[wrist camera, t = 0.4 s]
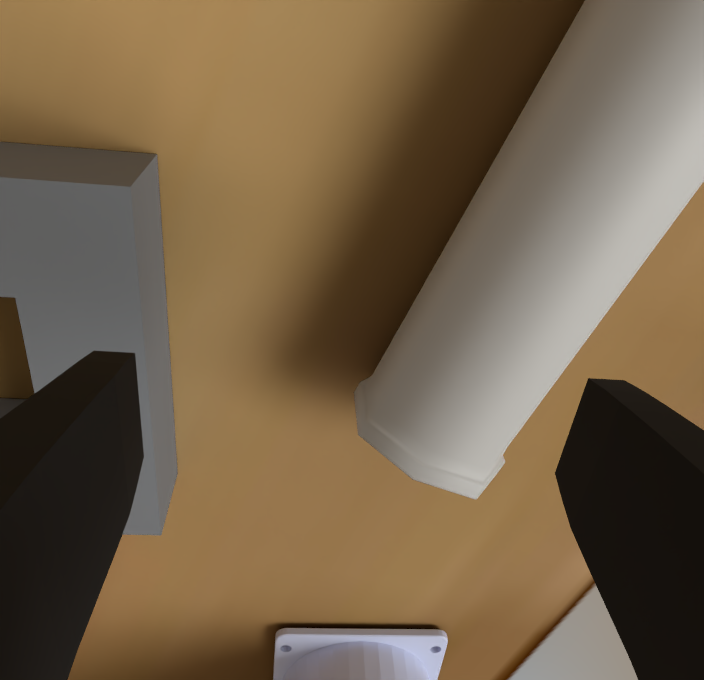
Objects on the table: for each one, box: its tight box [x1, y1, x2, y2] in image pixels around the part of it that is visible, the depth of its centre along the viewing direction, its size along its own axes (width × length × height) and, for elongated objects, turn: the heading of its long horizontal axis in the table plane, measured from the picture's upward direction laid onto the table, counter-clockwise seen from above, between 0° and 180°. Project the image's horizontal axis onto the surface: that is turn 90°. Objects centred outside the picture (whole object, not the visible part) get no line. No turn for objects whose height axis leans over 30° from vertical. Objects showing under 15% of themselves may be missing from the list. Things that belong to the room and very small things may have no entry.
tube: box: [354, 0, 704, 499], centre depth 15 cm, size 5×5×25 cm
